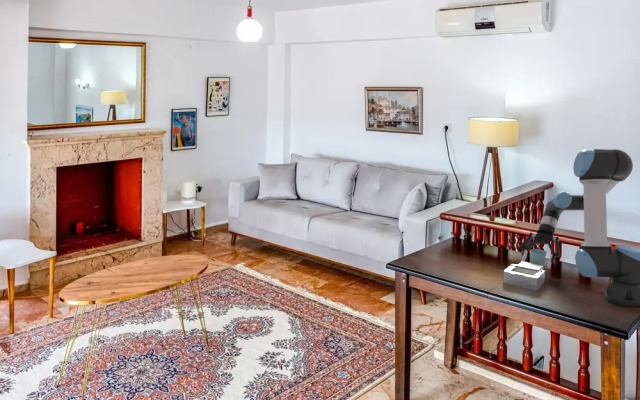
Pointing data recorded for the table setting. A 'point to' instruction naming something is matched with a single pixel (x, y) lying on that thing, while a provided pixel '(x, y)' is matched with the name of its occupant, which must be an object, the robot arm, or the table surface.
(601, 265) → the robot arm
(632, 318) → the table surface
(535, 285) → the white rectangular box
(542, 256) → the cup
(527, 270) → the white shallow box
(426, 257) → the table surface
